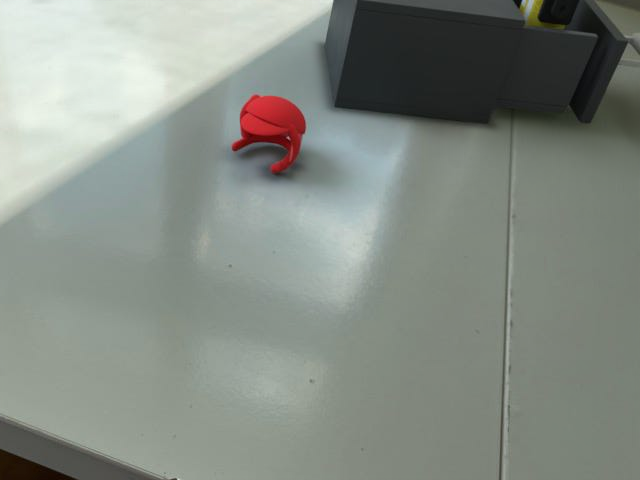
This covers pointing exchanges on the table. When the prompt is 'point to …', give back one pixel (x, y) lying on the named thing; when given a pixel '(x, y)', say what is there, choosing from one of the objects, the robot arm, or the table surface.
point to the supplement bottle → (535, 14)
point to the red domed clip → (272, 126)
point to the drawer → (566, 64)
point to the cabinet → (422, 55)
